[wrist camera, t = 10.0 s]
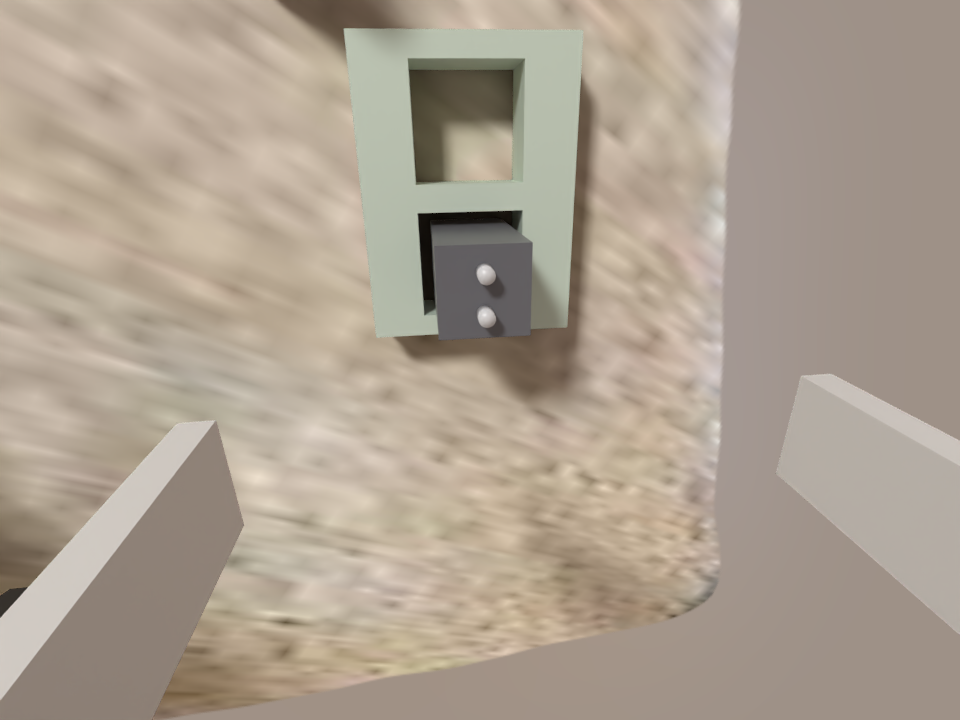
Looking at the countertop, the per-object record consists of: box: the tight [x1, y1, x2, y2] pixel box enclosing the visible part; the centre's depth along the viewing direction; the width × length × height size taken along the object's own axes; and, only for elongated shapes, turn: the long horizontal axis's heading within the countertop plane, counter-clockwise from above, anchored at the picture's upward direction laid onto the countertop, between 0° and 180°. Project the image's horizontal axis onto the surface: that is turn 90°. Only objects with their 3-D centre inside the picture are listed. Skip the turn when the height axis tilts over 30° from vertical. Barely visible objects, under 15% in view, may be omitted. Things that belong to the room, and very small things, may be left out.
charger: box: [430, 218, 533, 340], centre depth 27 cm, size 4×4×11 cm
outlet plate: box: [344, 28, 583, 338], centre depth 29 cm, size 12×16×4 cm
